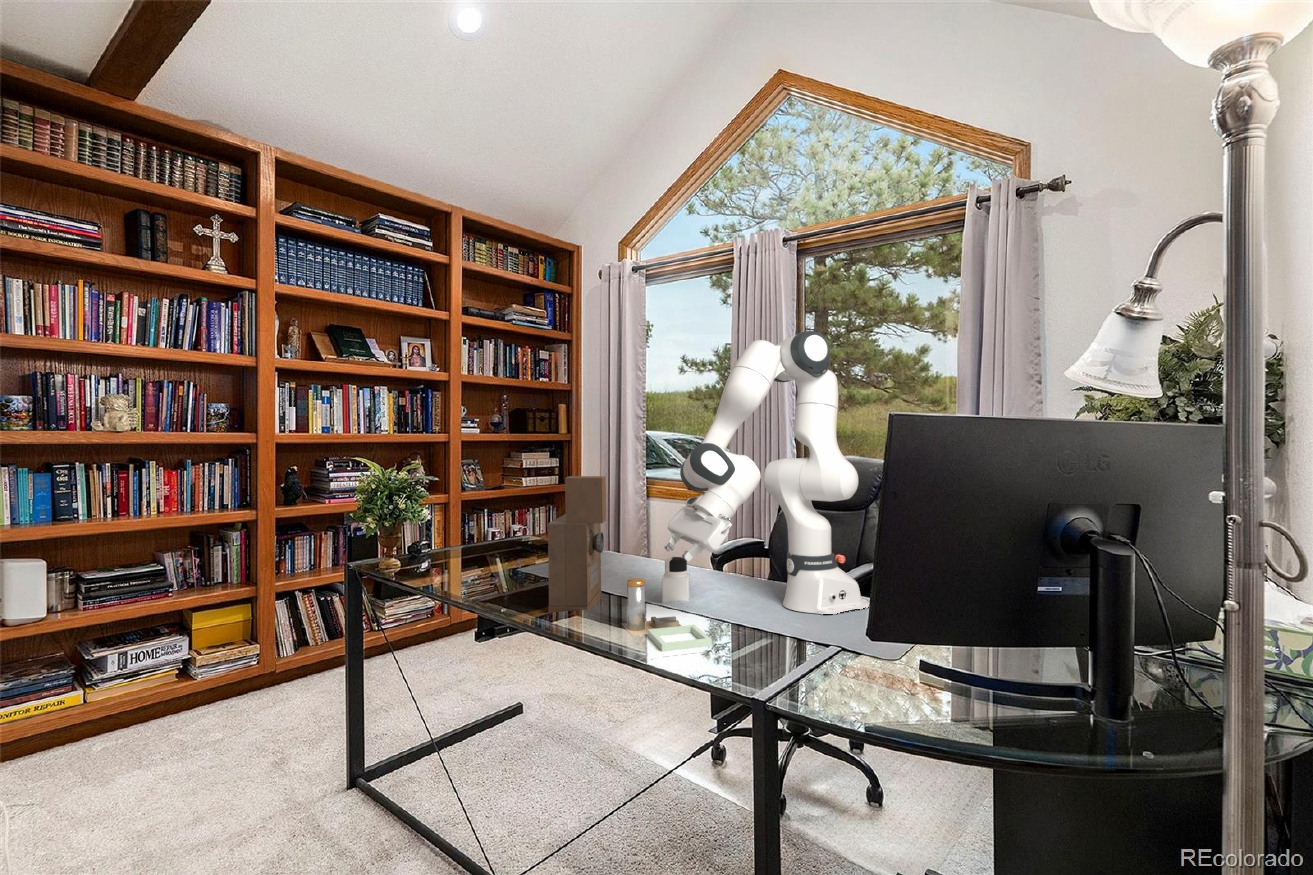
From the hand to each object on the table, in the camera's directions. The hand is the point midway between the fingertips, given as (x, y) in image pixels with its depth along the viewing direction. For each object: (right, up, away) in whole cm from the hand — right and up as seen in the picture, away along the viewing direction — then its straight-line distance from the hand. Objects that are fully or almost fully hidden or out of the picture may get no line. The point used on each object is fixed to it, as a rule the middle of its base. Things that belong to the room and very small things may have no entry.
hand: (675, 554), depth 158 cm
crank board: (-5, -17, -4) cm, 19 cm away
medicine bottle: (+1, -17, +23) cm, 28 cm away
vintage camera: (-26, -17, +20) cm, 37 cm away
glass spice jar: (-9, -16, -5) cm, 19 cm away
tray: (0, -17, -15) cm, 23 cm away
